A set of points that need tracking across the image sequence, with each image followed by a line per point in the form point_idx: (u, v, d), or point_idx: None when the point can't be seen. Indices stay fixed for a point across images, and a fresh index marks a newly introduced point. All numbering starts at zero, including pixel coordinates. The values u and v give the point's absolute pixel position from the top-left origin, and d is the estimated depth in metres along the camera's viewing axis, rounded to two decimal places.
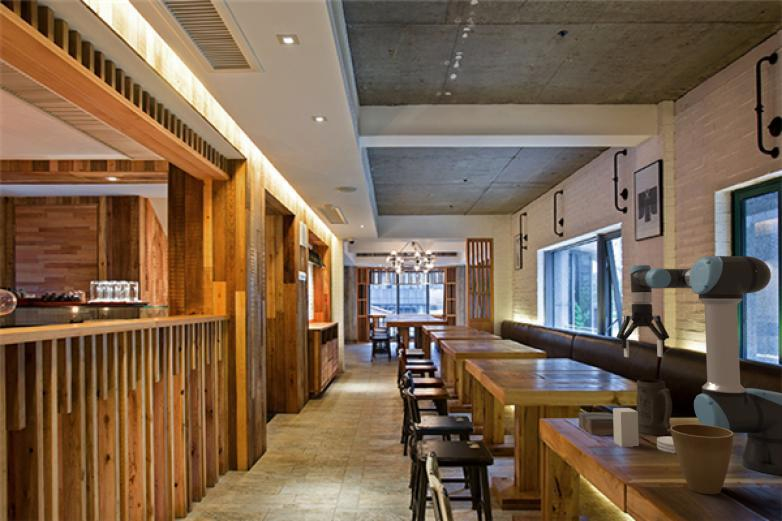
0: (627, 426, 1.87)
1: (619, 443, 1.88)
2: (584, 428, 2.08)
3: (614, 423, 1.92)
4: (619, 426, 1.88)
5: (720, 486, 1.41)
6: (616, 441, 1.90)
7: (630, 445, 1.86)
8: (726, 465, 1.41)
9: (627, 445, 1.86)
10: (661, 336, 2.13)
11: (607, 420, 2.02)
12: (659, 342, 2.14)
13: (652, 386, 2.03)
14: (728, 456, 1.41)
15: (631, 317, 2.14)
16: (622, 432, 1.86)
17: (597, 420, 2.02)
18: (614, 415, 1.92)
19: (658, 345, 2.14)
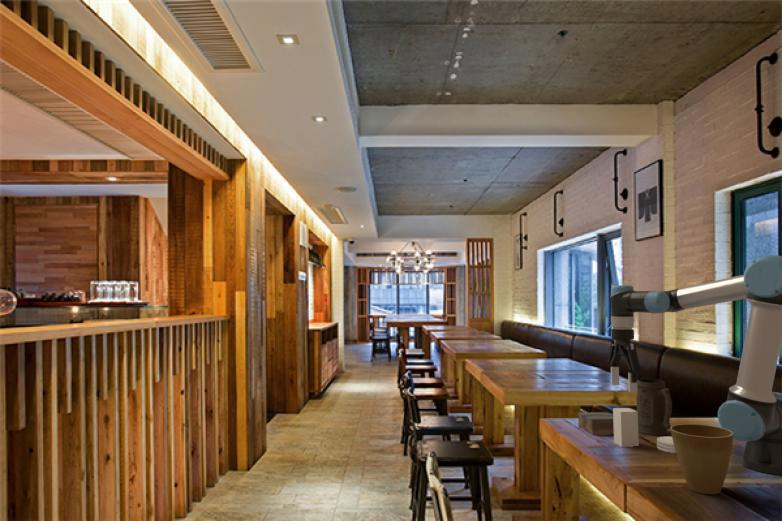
0: (627, 426, 1.87)
1: (619, 443, 1.88)
2: (585, 429, 2.08)
3: (614, 423, 1.92)
4: (619, 426, 1.88)
5: (720, 486, 1.41)
6: (616, 441, 1.90)
7: (630, 445, 1.86)
8: (726, 465, 1.41)
9: (627, 445, 1.86)
10: (629, 368, 1.84)
11: (608, 420, 2.02)
12: None
13: (652, 386, 2.03)
14: (728, 456, 1.41)
15: None
16: (622, 432, 1.86)
17: (598, 420, 2.02)
18: (614, 415, 1.92)
19: None
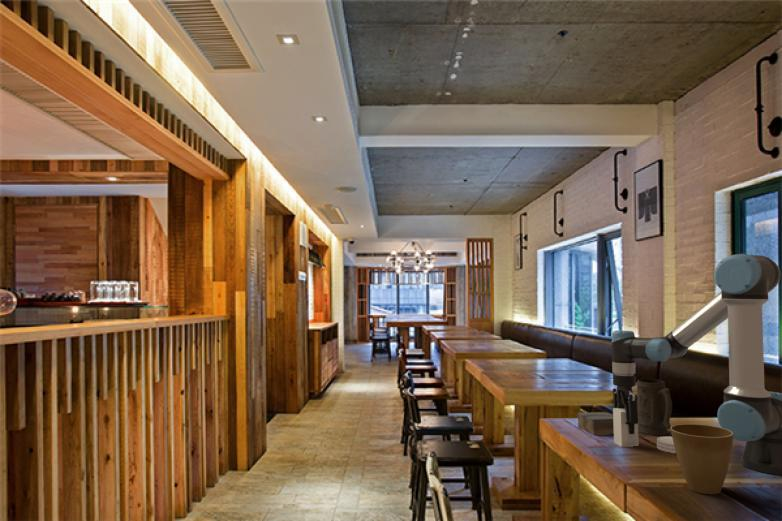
0: None
1: (619, 443, 1.88)
2: (585, 429, 2.07)
3: (614, 423, 1.92)
4: (619, 426, 1.88)
5: (720, 486, 1.41)
6: (616, 441, 1.90)
7: (630, 445, 1.86)
8: (726, 465, 1.41)
9: (627, 445, 1.86)
10: (627, 419, 1.86)
11: (608, 420, 2.03)
12: None
13: (652, 386, 2.03)
14: (728, 456, 1.41)
15: (617, 389, 1.95)
16: (622, 432, 1.86)
17: (599, 420, 2.02)
18: (614, 415, 1.92)
19: None
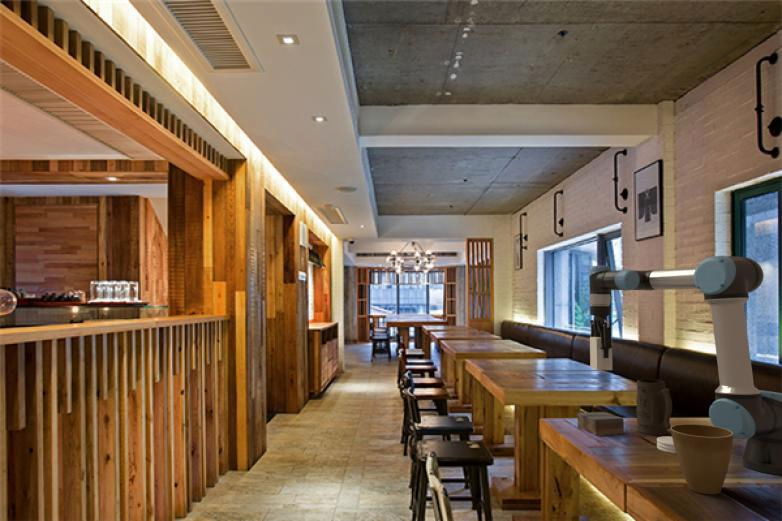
0: None
1: (595, 367, 2.06)
2: (586, 429, 2.07)
3: (590, 351, 2.10)
4: (595, 352, 2.06)
5: (720, 486, 1.41)
6: (592, 366, 2.08)
7: (604, 368, 2.04)
8: (726, 465, 1.41)
9: (602, 368, 2.04)
10: (602, 344, 2.04)
11: (610, 420, 2.03)
12: None
13: (652, 386, 2.02)
14: (728, 456, 1.41)
15: (594, 320, 2.13)
16: (597, 356, 2.04)
17: (601, 420, 2.02)
18: (590, 343, 2.10)
19: None
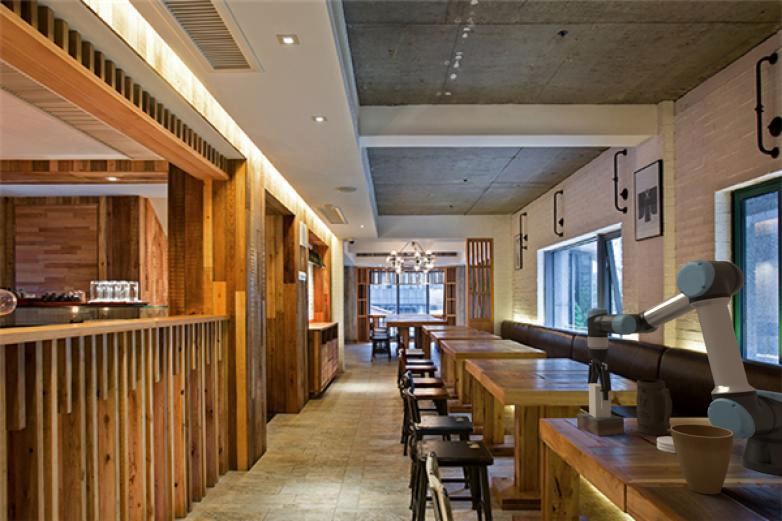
0: None
1: (593, 414, 2.07)
2: (587, 430, 2.06)
3: (589, 397, 2.11)
4: (594, 399, 2.07)
5: (720, 486, 1.41)
6: (591, 413, 2.09)
7: (603, 416, 2.05)
8: (726, 465, 1.41)
9: (600, 416, 2.05)
10: (601, 387, 2.04)
11: (611, 420, 2.03)
12: None
13: (652, 386, 2.03)
14: (728, 456, 1.41)
15: None
16: (596, 404, 2.05)
17: (603, 421, 2.02)
18: (589, 390, 2.11)
19: None
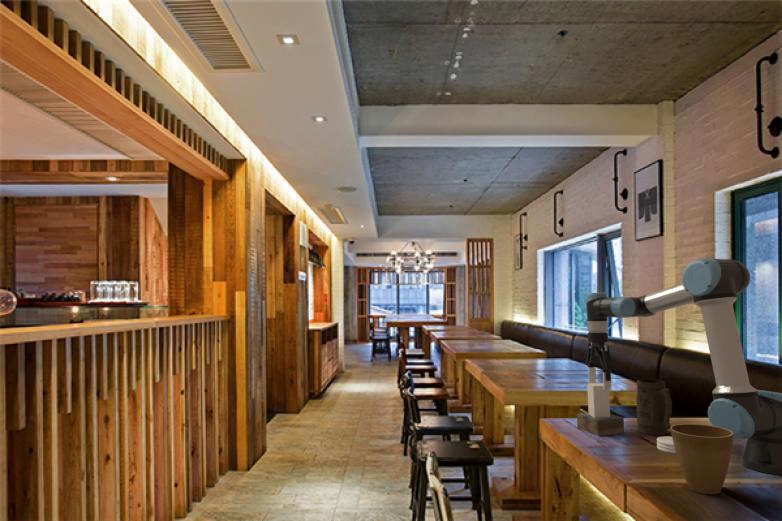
0: (599, 399, 2.06)
1: (592, 414, 2.07)
2: (587, 430, 2.06)
3: (588, 397, 2.11)
4: (592, 399, 2.07)
5: (720, 486, 1.41)
6: (590, 413, 2.10)
7: (602, 416, 2.06)
8: (726, 465, 1.41)
9: (599, 416, 2.06)
10: (603, 367, 2.03)
11: (611, 420, 2.03)
12: None
13: (652, 386, 2.03)
14: (728, 456, 1.41)
15: (592, 345, 2.15)
16: (595, 404, 2.06)
17: (603, 420, 2.02)
18: (588, 390, 2.11)
19: None
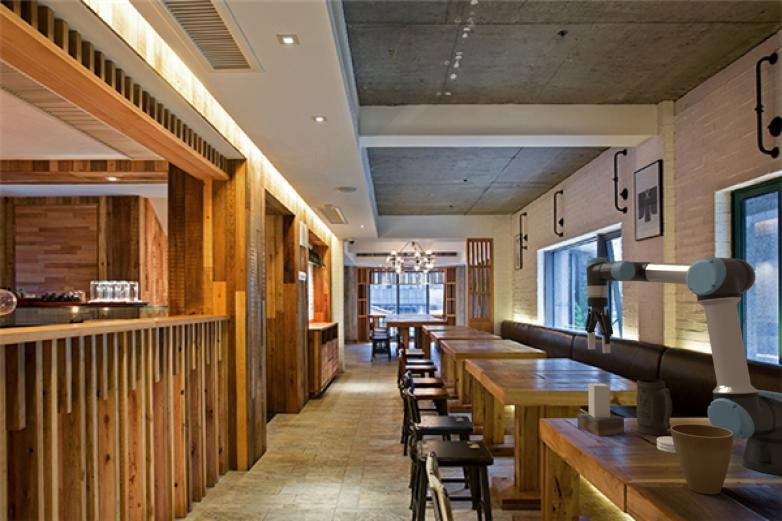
0: (600, 399, 2.06)
1: (592, 414, 2.07)
2: (587, 430, 2.06)
3: (589, 397, 2.11)
4: (593, 399, 2.07)
5: (720, 486, 1.41)
6: (590, 413, 2.09)
7: (602, 416, 2.05)
8: (726, 465, 1.41)
9: (599, 416, 2.05)
10: (603, 331, 2.04)
11: (611, 420, 2.03)
12: None
13: (652, 386, 2.02)
14: (728, 456, 1.41)
15: (591, 310, 2.16)
16: (595, 404, 2.06)
17: (603, 420, 2.02)
18: (589, 389, 2.11)
19: None
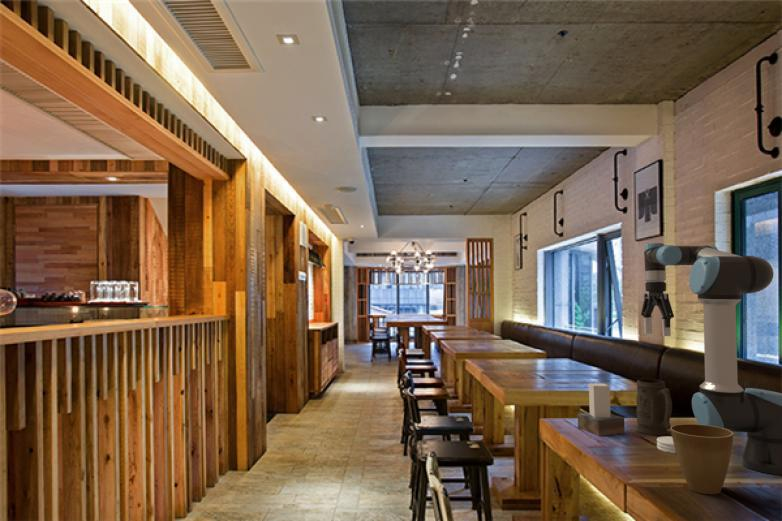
0: (600, 399, 2.06)
1: (593, 414, 2.07)
2: (587, 430, 2.07)
3: (589, 397, 2.12)
4: (592, 399, 2.07)
5: (720, 486, 1.41)
6: (591, 413, 2.10)
7: (602, 416, 2.06)
8: (726, 465, 1.41)
9: (599, 416, 2.06)
10: (663, 315, 2.07)
11: (612, 420, 2.03)
12: None
13: (652, 386, 2.03)
14: (728, 456, 1.41)
15: (648, 295, 2.19)
16: (595, 404, 2.06)
17: (603, 420, 2.02)
18: (589, 390, 2.12)
19: None
